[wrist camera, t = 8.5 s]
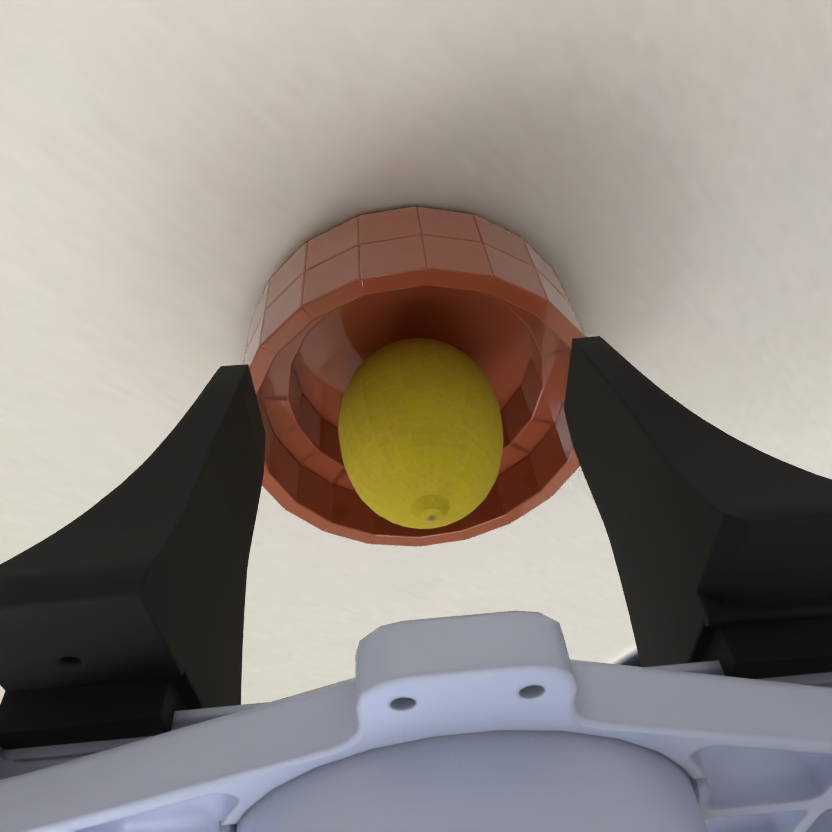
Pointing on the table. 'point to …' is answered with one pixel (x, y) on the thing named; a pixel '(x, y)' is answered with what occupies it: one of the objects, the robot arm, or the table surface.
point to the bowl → (404, 319)
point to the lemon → (420, 433)
